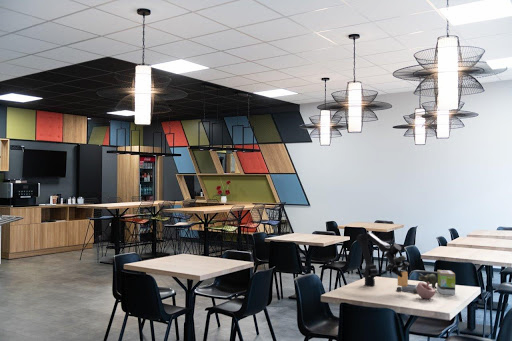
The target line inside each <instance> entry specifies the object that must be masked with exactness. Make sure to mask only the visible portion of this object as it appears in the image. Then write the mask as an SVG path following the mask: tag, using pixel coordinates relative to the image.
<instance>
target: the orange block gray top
mask: <svg viewBox="0 0 512 341" xmlns="http://www.w3.org/2000/svg"><path fill="white" fill-rule="evenodd" d="M398 270H399V271H400V273H401V275H402V277H400V276H398V275H397V287H405V286H408V284H409V282H408V281H409V280H408V279H409V277H408V275H409V274H408V271H407V270H406V271H404V270H400V269H398Z"/></svg>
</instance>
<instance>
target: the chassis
mask: <svg viewBox="0 0 512 341" xmlns="http://www.w3.org/2000/svg"><path fill="white" fill-rule="evenodd" d="M417 285H418V284H409V283H408V286H405V287H402V286H396V291H397V292H405V293H412V294H418V293H417Z"/></svg>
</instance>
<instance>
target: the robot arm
mask: <svg viewBox="0 0 512 341" xmlns="http://www.w3.org/2000/svg"><path fill="white" fill-rule="evenodd" d="M356 241H357V244H358V245H359V246H360V249H361V251H362V256H363V259H364V263H365V267H364V272H363V274H362V277H363V278H364V286H367V287H368V286H369V287H373V286H375V285H376V283H375V282H376V281H375V278H376V276H377V274H378V267H377V265H376V264H374V263H373V261H372V257H371V253H370V249H369V246H368V245H369V241H370V242H372V243H373V244H374V245H375V246H377V248H378V250H379V251H380V252H381V253H383V258H387V260H388V264H387V266H385V270H386V272H391V273H393V274H395V275H397V277H398V276H400V277H402V275H401V273H400V271H399V270H404V271H406V272H407V269H408V268H409V266H410V265H411V264H410V263H409V262H408V261H406V260H407V257H406V256H405V255H401V256H396V255H397V254H399V253H400V251H401V250H402V247H401V245H400V244H398V243H396V242H393V243H392V245H391V244H389V243H387V242H385V241H383V240H381V239H380V238H378V236H376V235H375V234H374V233H373V232H366V233H364V234H357V236H356Z"/></svg>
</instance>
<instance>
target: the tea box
mask: <svg viewBox="0 0 512 341" xmlns="http://www.w3.org/2000/svg"><path fill="white" fill-rule="evenodd" d="M436 272H437V273H436V280H437V281H436V291H438V293H440V294H441V295H449V296H450V295H453V296H454V295H456V273H455V272H453V271H452V270H445V269H443V270H442V269H437V271H436Z"/></svg>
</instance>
